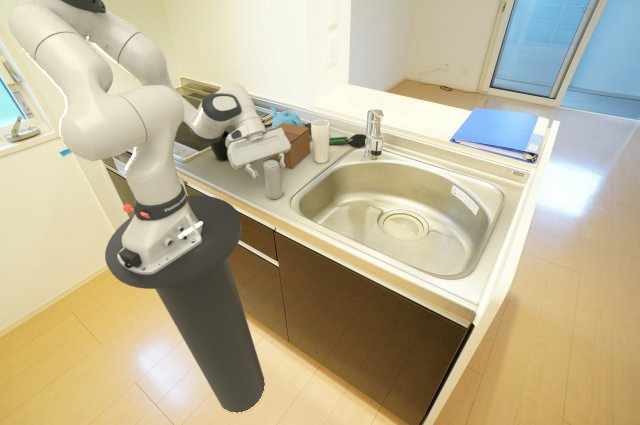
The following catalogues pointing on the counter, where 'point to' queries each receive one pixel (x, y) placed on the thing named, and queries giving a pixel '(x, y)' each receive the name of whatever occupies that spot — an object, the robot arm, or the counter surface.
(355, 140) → the rock
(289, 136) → the flap
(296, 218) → the counter surface
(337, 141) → the business card
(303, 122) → the bone model
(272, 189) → the beverage can
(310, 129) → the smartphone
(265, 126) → the brown curved piece
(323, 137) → the drinking glass
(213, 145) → the mug
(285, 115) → the teapot
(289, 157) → the carton
